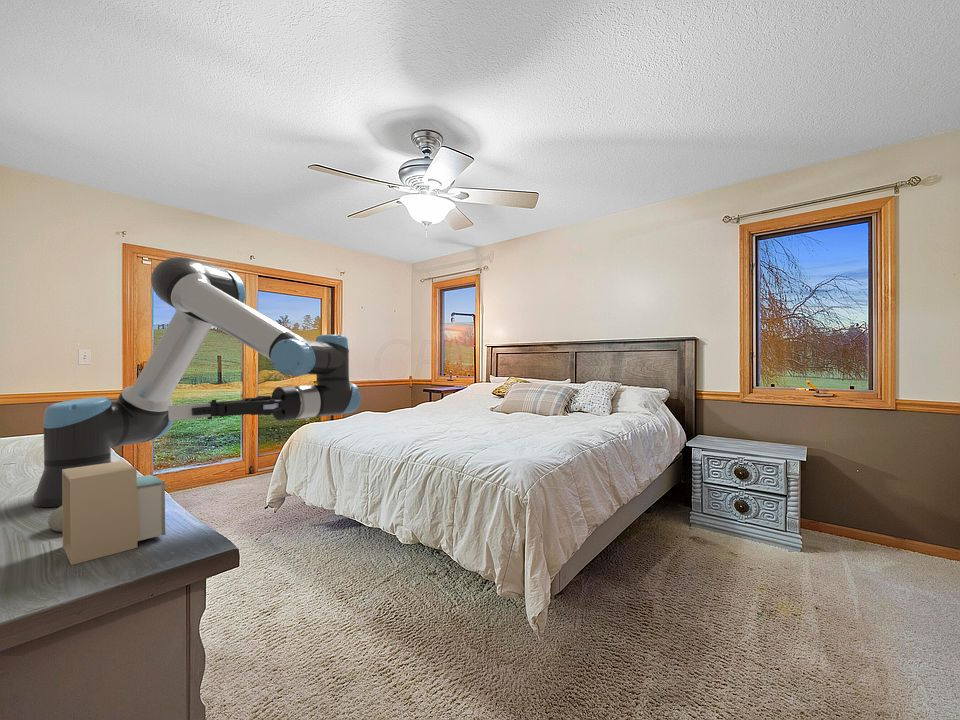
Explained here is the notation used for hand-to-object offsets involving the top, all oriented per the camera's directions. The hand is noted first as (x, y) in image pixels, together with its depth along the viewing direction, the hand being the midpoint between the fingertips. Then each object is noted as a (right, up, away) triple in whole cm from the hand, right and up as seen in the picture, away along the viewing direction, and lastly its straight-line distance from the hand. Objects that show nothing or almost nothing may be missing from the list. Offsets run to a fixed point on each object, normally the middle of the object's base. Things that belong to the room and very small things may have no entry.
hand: (169, 413), depth 80 cm
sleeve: (-6, -21, -8) cm, 24 cm away
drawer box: (-4, -21, -6) cm, 22 cm away
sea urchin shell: (-19, -22, +3) cm, 30 cm away
